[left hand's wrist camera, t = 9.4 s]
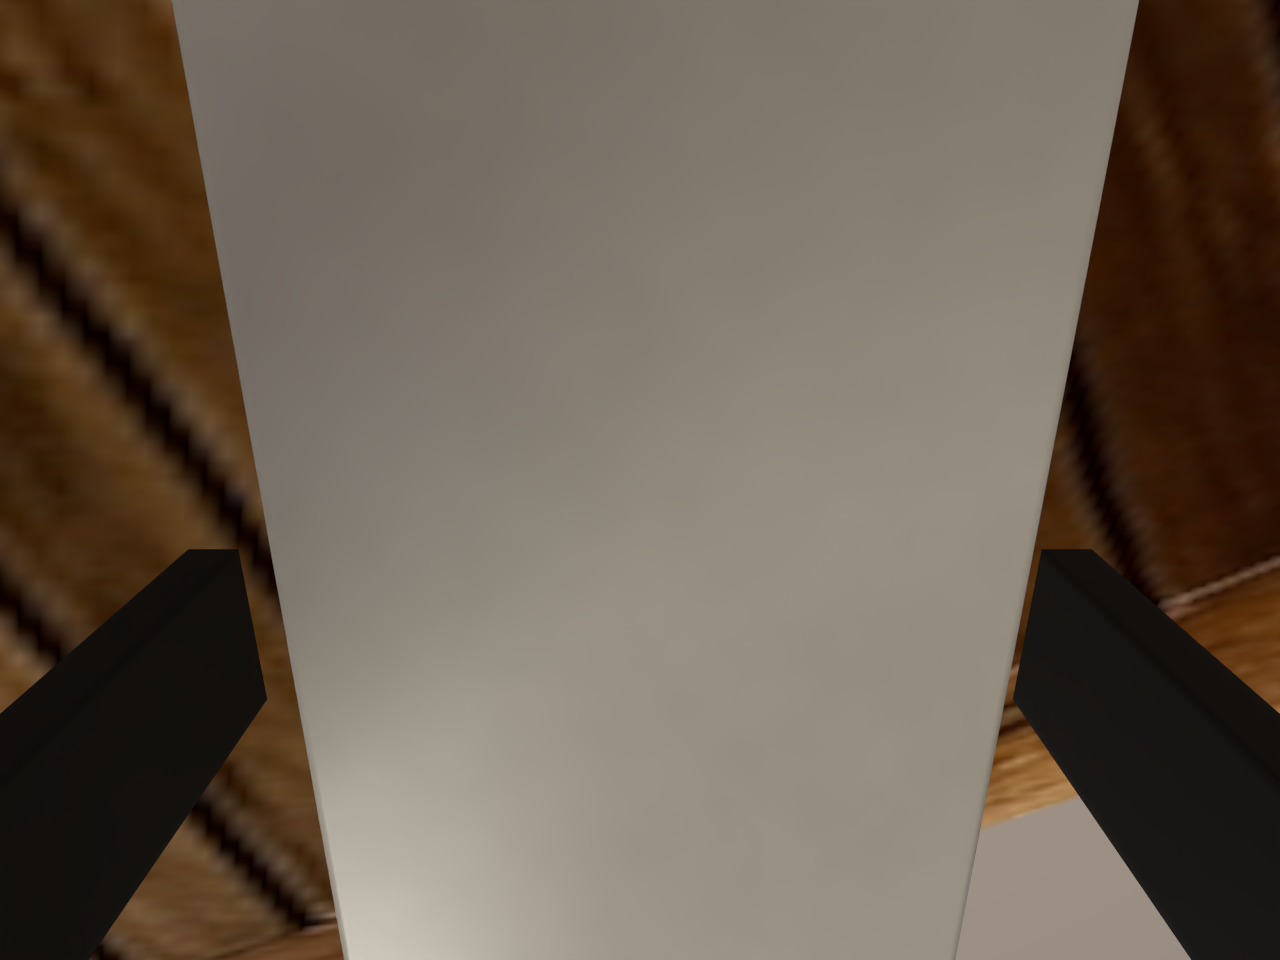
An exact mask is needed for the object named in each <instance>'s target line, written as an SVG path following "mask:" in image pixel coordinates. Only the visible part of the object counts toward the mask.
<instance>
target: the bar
mask: <svg viewBox="0 0 1280 960" xmlns="http://www.w3.org/2000/svg"><path fill="white" fill-rule="evenodd" d="M1138 3H1139V0H172V4H173V10H174V15H175V21H176V27H177V32H178V38H179V43H180V49H181V54H182V60H183V65H184V71H185V77H186V82H187V88H188V93H189V99H190V104H191V110H192V115H193V121H194V127H195V132H196V138H197V143H198V149H199V154H200V160H201V166H202V171H203V177H204V182H205V188H206V193H207V199H208V204H209V210H210V216H211V221H212V227H213V232H214V238H215V243H216V249H217V254H218V260H219V266H220V271H221V277H222V282H223V288H224V293H225V299H226V305H227V310H228V316H229V321H230V327H231V332H232V338H233V343H234V349H235V355H236V360H237V366H238V371H239V377H240V382H241V388H242V393H243V399H244V405H245V410H246V416H247V421H248V427H249V432H250V438H251V444H252V449H253V455H254V460H255V466H256V471H257V477H258V482H259V488H260V494H261V499H262V505H263V510H264V516H265V521H266V527H267V532H268V538H269V544H270V549H271V555H272V560H273V566H274V571H275V577H276V583H277V588H278V594H279V599H280V605H281V610H282V616H283V621H284V627H285V633H286V638H287V644H288V649H289V655H290V660H291V666H292V671H293V677H294V683H295V688H296V694H297V699H298V705H299V710H300V716H301V721H302V727H303V733H304V738H305V744H306V749H307V755H308V760H309V766H310V772H311V777H312V783H313V788H314V794H315V799H316V805H317V810H318V816H319V822H320V827H321V833H322V838H323V844H324V849H325V855H326V860H327V866H328V872H329V877H330V883H331V888H332V894H333V899H334V905H335V911H336V916H337V922H338V927H339V933H340V938H341V944H342V949H343V955H344V960H955V957H956V952H957V947H958V942H959V936H960V931H961V926H962V920H963V915H964V910H965V905H966V900H967V895H968V889H969V884H970V879H971V874H972V868H973V863H974V858H975V853H976V848H977V842H978V837H979V832H980V827H981V822H982V816H983V811H984V806H985V801H986V795H987V790H988V785H989V780H990V775H991V769H992V764H993V759H994V754H995V749H996V743H997V738H998V733H999V728H1000V722H1001V717H1002V712H1003V707H1004V702H1005V696H1006V691H1007V686H1008V681H1009V676H1010V670H1011V665H1012V660H1013V655H1014V649H1015V644H1016V639H1017V634H1018V629H1019V623H1020V618H1021V613H1022V608H1023V602H1024V597H1025V592H1026V587H1027V582H1028V576H1029V571H1030V566H1031V561H1032V556H1033V550H1034V545H1035V540H1036V535H1037V529H1038V524H1039V519H1040V514H1041V509H1042V503H1043V498H1044V493H1045V488H1046V483H1047V477H1048V472H1049V467H1050V462H1051V456H1052V451H1053V446H1054V441H1055V436H1056V430H1057V425H1058V420H1059V415H1060V410H1061V404H1062V399H1063V394H1064V389H1065V383H1066V378H1067V373H1068V368H1069V363H1070V357H1071V352H1072V347H1073V342H1074V336H1075V331H1076V326H1077V321H1078V316H1079V310H1080V305H1081V300H1082V295H1083V290H1084V284H1085V279H1086V274H1087V269H1088V263H1089V258H1090V253H1091V248H1092V243H1093V237H1094V232H1095V227H1096V222H1097V217H1098V211H1099V206H1100V201H1101V196H1102V190H1103V185H1104V180H1105V175H1106V170H1107V164H1108V159H1109V154H1110V149H1111V143H1112V138H1113V133H1114V128H1115V123H1116V117H1117V112H1118V107H1119V102H1120V97H1121V91H1122V86H1123V81H1124V76H1125V70H1126V65H1127V60H1128V55H1129V50H1130V44H1131V39H1132V34H1133V29H1134V24H1135V18H1136V13H1137V8H1138Z"/></svg>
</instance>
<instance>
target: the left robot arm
mask: <svg viewBox="0 0 1280 960" xmlns="http://www.w3.org/2000/svg"><path fill="white" fill-rule="evenodd" d="M266 700H267V696H266V691H265V686H264V681H263V676H262V670H261V665H260V660H259V655H258V650H257V644H256V639H255V634H254V629H253V624H252V618H251V613H250V608H249V603H248V598H247V592H246V587H245V582H244V577H243V572H242V566H241V561H240V556H239V551H238V549H188V550H187V551H186V552H185V553H184V554H183V555H182V556H180V557H179V558H178V559H177V560H176V561H175V562H174V563H172V564H171V565H170V566H169V567H168V568H167V569H166V570H164V571H163V572H162V573H161V574H160V575H159V576H158V577H156V578H155V579H154V580H153V581H152V582H151V583H150V584H148V585H147V586H146V587H145V588H144V589H143V590H141V591H140V592H139V593H138V594H137V595H136V596H135V597H133V598H132V599H131V600H130V601H129V602H128V603H127V604H125V605H124V606H123V607H122V608H121V609H120V610H119V611H117V612H116V613H115V614H114V615H113V616H112V617H111V618H109V619H108V620H107V621H106V622H105V623H104V624H103V625H101V626H100V627H99V628H98V629H97V630H96V631H95V632H93V633H92V634H91V635H90V636H89V637H88V638H87V639H85V640H84V641H83V642H82V643H81V644H80V645H79V646H77V647H76V648H75V649H74V650H73V651H72V652H71V653H69V654H68V655H67V656H66V657H65V658H64V659H63V660H61V661H60V662H59V663H58V664H57V665H56V666H55V667H53V668H52V669H51V670H50V671H49V672H48V673H47V674H45V675H44V676H43V677H42V678H41V679H40V680H38V681H37V682H36V683H35V684H34V685H33V686H32V687H30V688H29V689H28V690H27V691H26V692H25V693H24V694H22V695H21V696H20V697H19V698H18V699H17V700H16V701H14V702H13V703H12V704H11V705H10V706H9V707H8V708H6V709H5V710H4V711H3V712H2V713H1V714H0V960H89V958H90V957H91V955H92V954H93V953H94V951H95V950H96V948H97V947H98V945H99V944H100V942H101V941H102V939H103V938H104V936H105V935H106V934H107V932H108V931H109V929H110V928H111V926H112V925H113V923H114V922H115V920H116V919H117V918H118V916H119V915H120V913H121V912H122V910H123V909H124V907H125V906H126V904H127V903H128V901H129V900H130V899H131V897H132V896H133V894H134V893H135V891H136V890H137V888H138V887H139V885H140V884H141V882H142V881H143V880H144V878H145V877H146V875H147V874H148V872H149V871H150V869H151V868H152V866H153V865H154V864H155V862H156V861H157V859H158V858H159V856H160V855H161V853H162V852H163V850H164V849H165V847H166V846H167V845H168V843H169V842H170V840H171V839H172V837H173V836H174V834H175V833H176V831H177V830H178V828H179V827H180V826H181V824H182V823H183V821H184V820H185V818H186V817H187V815H188V814H189V812H190V811H191V810H192V808H193V807H194V805H195V804H196V802H197V801H198V799H199V798H200V796H201V795H202V793H203V792H204V791H205V789H206V788H207V786H208V785H209V783H210V782H211V780H212V779H213V777H214V776H215V774H216V773H217V772H218V770H219V769H220V767H221V766H222V764H223V763H224V761H225V760H226V758H227V757H228V756H229V754H230V753H231V751H232V750H233V748H234V747H235V745H236V744H237V742H238V741H239V739H240V738H241V737H242V735H243V734H244V732H245V731H246V729H247V728H248V726H249V725H250V723H251V722H252V720H253V719H254V718H255V716H256V715H257V713H258V712H259V710H260V709H261V707H262V706H263V704H264V703H265V702H266ZM1013 700H1014V701H1015V703H1016V704H1017V706H1018V707H1019V709H1020V710H1021V712H1022V713H1023V715H1024V716H1025V718H1026V719H1027V720H1028V722H1029V723H1030V725H1031V726H1032V728H1033V729H1034V731H1035V732H1036V734H1037V735H1038V737H1039V738H1040V739H1041V741H1042V742H1043V744H1044V745H1045V747H1046V748H1047V750H1048V751H1049V753H1050V754H1051V755H1052V757H1053V758H1054V760H1055V761H1056V763H1057V764H1058V766H1059V767H1060V769H1061V770H1062V772H1063V773H1064V774H1065V776H1066V777H1067V779H1068V780H1069V782H1070V783H1071V785H1072V786H1073V788H1074V789H1075V791H1076V792H1077V793H1078V795H1079V796H1080V798H1081V799H1082V801H1083V802H1084V804H1085V805H1086V807H1087V808H1088V809H1089V811H1090V812H1091V814H1092V815H1093V817H1094V818H1095V820H1096V821H1097V823H1098V824H1099V826H1100V827H1101V828H1102V830H1103V831H1104V833H1105V834H1106V836H1107V837H1108V839H1109V840H1110V842H1111V843H1112V844H1113V846H1114V847H1115V849H1116V850H1117V852H1118V853H1119V855H1120V856H1121V858H1122V859H1123V861H1124V862H1125V863H1126V865H1127V866H1128V868H1129V869H1130V871H1131V872H1132V874H1133V875H1134V877H1135V878H1136V880H1137V881H1138V882H1139V884H1140V885H1141V887H1142V888H1143V890H1144V891H1145V893H1146V894H1147V895H1148V897H1149V899H1150V900H1151V901H1152V903H1153V904H1154V906H1155V907H1156V909H1157V910H1158V912H1159V913H1160V915H1161V916H1162V917H1163V919H1164V920H1165V922H1166V923H1167V925H1168V926H1169V928H1170V929H1171V931H1172V932H1173V934H1174V935H1175V936H1176V938H1177V939H1178V941H1179V942H1180V944H1181V945H1182V947H1183V948H1184V950H1185V951H1186V952H1187V954H1188V955H1189V957H1190V958H1191V960H1280V714H1279V713H1278V712H1277V711H1276V710H1275V709H1274V708H1272V707H1271V706H1270V705H1269V704H1268V703H1267V702H1266V701H1264V700H1263V699H1262V698H1261V697H1260V696H1259V695H1258V694H1256V693H1255V692H1254V691H1253V690H1252V689H1251V688H1250V687H1248V686H1247V685H1246V684H1245V683H1244V682H1243V681H1242V680H1240V679H1239V678H1238V677H1237V676H1236V675H1235V674H1234V673H1232V672H1231V671H1230V670H1229V669H1228V668H1227V667H1226V666H1224V665H1223V664H1222V663H1221V662H1220V661H1219V660H1217V659H1216V658H1215V657H1214V656H1213V655H1212V654H1211V653H1209V652H1208V651H1207V650H1206V649H1205V648H1204V647H1203V646H1201V645H1200V644H1199V643H1198V642H1197V641H1196V640H1195V639H1193V638H1192V637H1191V636H1190V635H1189V634H1188V633H1187V632H1185V631H1184V630H1183V629H1182V628H1181V627H1180V626H1179V625H1177V624H1176V623H1175V622H1174V621H1173V620H1172V619H1171V618H1169V617H1168V616H1167V615H1166V614H1165V613H1164V612H1163V611H1161V610H1160V609H1159V608H1158V607H1157V606H1156V605H1155V604H1153V603H1152V602H1151V601H1150V600H1149V599H1148V598H1147V597H1145V596H1144V595H1143V594H1142V593H1141V592H1140V591H1139V590H1137V589H1136V588H1135V587H1134V586H1133V585H1132V584H1131V583H1129V582H1128V581H1127V580H1126V579H1125V578H1124V577H1123V576H1121V575H1120V574H1119V573H1118V572H1117V571H1116V570H1114V569H1113V568H1112V567H1111V566H1110V565H1109V564H1108V563H1106V562H1105V561H1104V560H1103V559H1102V558H1101V557H1100V556H1098V555H1097V554H1096V553H1095V552H1094V551H1093V550H1092V549H1042V551H1041V556H1040V561H1039V567H1038V572H1037V577H1036V582H1035V587H1034V592H1033V598H1032V603H1031V608H1030V613H1029V618H1028V624H1027V629H1026V634H1025V639H1024V644H1023V650H1022V655H1021V660H1020V665H1019V670H1018V676H1017V681H1016V686H1015V691H1014V696H1013Z"/></svg>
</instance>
